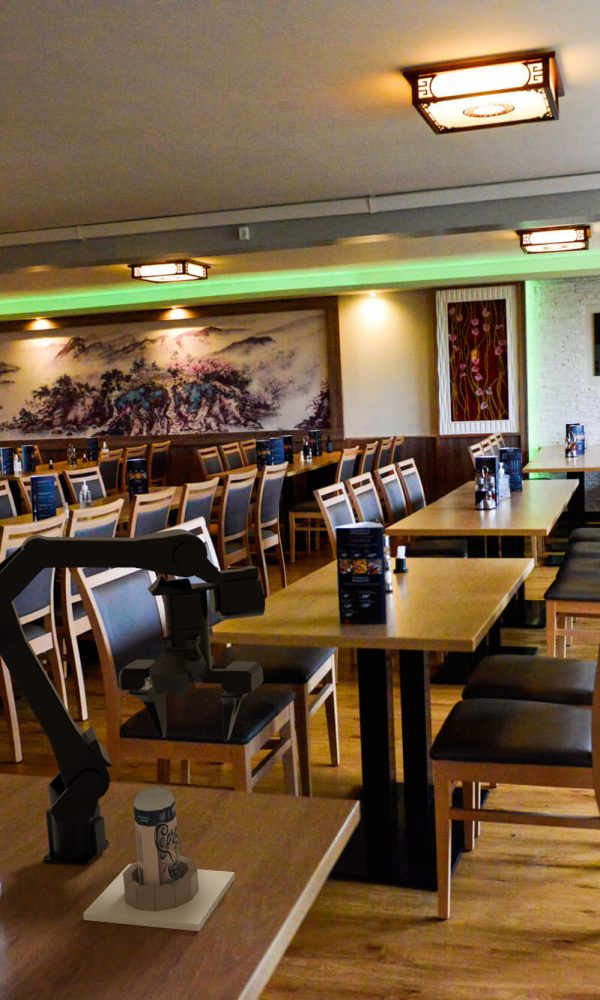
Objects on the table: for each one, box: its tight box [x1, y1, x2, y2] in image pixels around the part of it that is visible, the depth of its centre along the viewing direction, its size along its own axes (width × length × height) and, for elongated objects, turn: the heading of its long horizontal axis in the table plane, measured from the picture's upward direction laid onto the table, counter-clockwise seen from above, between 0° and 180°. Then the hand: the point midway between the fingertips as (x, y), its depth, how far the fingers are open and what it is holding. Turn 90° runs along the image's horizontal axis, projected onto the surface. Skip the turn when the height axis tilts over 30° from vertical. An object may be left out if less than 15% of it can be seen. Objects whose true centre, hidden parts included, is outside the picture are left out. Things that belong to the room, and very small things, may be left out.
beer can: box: [133, 786, 181, 886], centre depth 114 cm, size 5×5×12 cm
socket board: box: [83, 854, 236, 932], centre depth 114 cm, size 14×12×3 cm
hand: (194, 738), depth 131 cm, fingers open, 9 cm apart
